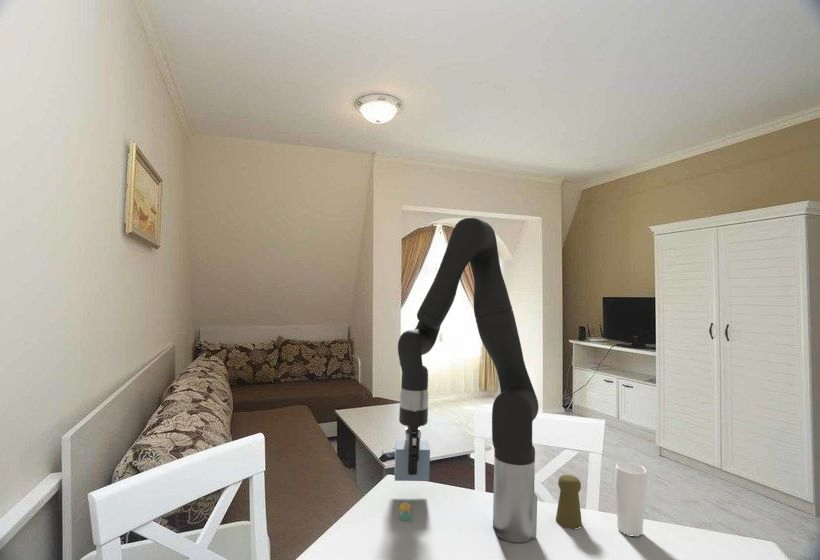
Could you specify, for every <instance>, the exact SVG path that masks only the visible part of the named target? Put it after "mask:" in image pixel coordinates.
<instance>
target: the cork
mask: <svg viewBox="0 0 820 560" xmlns="http://www.w3.org/2000/svg"><path fill="white" fill-rule="evenodd" d="M557 485H558V487H559V491H560V492H559V496H558V497H559V498H558V501H557V502H558V504H557V510H556V516H555V521H556V524H557V525H559V526H560V527H563V528H565V529H568V528H570V529H569V530H576V529H575V528H579V527H581V526H582V527H583V521H582V513H581V504H580V495H579V493H580V491H581V489H582V483H581V481H580V479H579V478H578V477H576V476H574V475H573V474H563V475H561V476H560V477H559V478H558V481H557ZM582 527H581V528H582ZM579 529H580V528H579Z"/></svg>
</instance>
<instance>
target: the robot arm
mask: <svg viewBox="0 0 820 560" xmlns="http://www.w3.org/2000/svg"><path fill="white" fill-rule="evenodd" d="M498 249H499V248H498V243H497V237H496V233H495V230H494V229H493V227H492V226H491V225H490V223H488V222H486V221H484V220H481V219H479V218H477V217H473V216H469V217H468V216H466V217H464V218H462V219H459V220H458V222H457V223H456V224H455V225H454V227H453V229H452V231H451V234H450V237H449V239H448V243H447V246H446V249H445V250H444V251H445V252H444V254H443V257H442V260H441V262H440V265H439V267H438V270H437V273H436V275H435V277H434V279H433V281H432V283H431V285H430V286H429V290H428V291H427V293H426V295H425V297H424V299H423V301H422V303H421V304H420V306H419V309H418V310H417V313H416V317H417V318H416V319H417V320H418V321H417V324H416V326H415V328H413V329H409V330H408V329H407V330H406V331H404V332H402V334H401V335H400V336H399V339H398V341H397V342H398V343H397V353H398V358H399V359H398V360H399V365H400V369H401V382H400V383H401V385H400V386H401V387H400V393H399V394H400V395H399V413H398V415H399V417H398V420H399V423H400V424H401V425H403V426H405V433H404V435H405V440H406V442H407V446H406V449H407V450H408V460H409V462H408V474H409V475H416V474H417V461H418V460H419V449H420V441H421V438H422V432H421V428H420V427H423V426H425V425H427V423H428V420H429V390H428V389H429V388H428V386H429V371H428V368H427V366H426V365H423V358H422V357H423V356H424V355H426V354H428V353H429V352H430V351H431V350H432V349H433V347H434V345H435V344H436V341H437V340H438V337H439V336H438V335H439V333H440V330H441V326H442V325H443V324H442V323H443V322H444V320H445V318H446V317H447V315H448V313H449V312H450V309H451V308H452V306H453V303H454V300H455V298H456V294H457V292H458V287H459V283H460V280H461V277H462V276H463V273H464V271H465V269H466V267H467V266H468V264H470V267H471V271H472V275H473V280H474V281H473V284H474V285H473V312H474V313H473V314H474V317H475V319H474V320H475V323H476V326H477V331H478V334H479V337H480V340H481V342H482V344H483V346H484V348H485V350H486V351H487V354H488V355H489V357H490V358H491V361H492V362H493V365H494V367H495V370H496V374H497V378H498V383H499V389H500V393H499V394H498V395H497V396H496V397H495V399H494V401H493V404H492V409H491V441H492V442H491V443H492V446H493V450H494V451H493V452H494V458H493V460H494V461H493V462H494V463H493V466H494V467H493V501H492V502H493V503H492V508H493V509H492V530H493V532H494V534H495V535H496V536H497V537H498V538H500V539H501V540H504V541H506V542H511V543H525V542H528V541H530V540H532V539H537V529H538V528H537V525H538V524H537V523H538V521H537V520H538V496H537V494H536V492H535V480H536V479H535V477H536V476H535V475H536V473H535V471H536V449H535V446H534V444H533V421H534V420H535V419H536V418H537V415H538V413H539V401H538V398H537V394H536V391H535V389H534V386H533V383H532V381H531V378H530V375H529V373H528V371H527V367H526V363H525V359H524V354H523V349H522V344H521V340H520V335H519V331H518V326H517V321H516V317H515V314H514V310H513V306H512V304H511V299H510V297H509V292H508V289H507V286H506V282H505V279H504V277H503V273H502V269H501V264H500V263H501V262H500V258H499V251H498ZM411 452H416V455H411Z"/></svg>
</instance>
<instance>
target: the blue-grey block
mask: <svg viewBox="0 0 820 560" xmlns="http://www.w3.org/2000/svg"><path fill="white" fill-rule="evenodd" d="M394 443H395V445H394V447H395V448H394V449H395V450H394V481H396V482H429V481H430V467H431V464H430V463H431V462H430V461H431V447H430V444H429V441H428V440H420V449H419V460H418V461H417V474H416V475H409V474H408V462H409V460H408V450H407V449H406V446H407V442H406V439H405V440H404V439H402V440H401V439H397V440H396V439H395V442H394ZM411 455H416V452H411Z"/></svg>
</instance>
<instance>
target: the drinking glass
mask: <svg viewBox="0 0 820 560" xmlns="http://www.w3.org/2000/svg"><path fill="white" fill-rule="evenodd" d="M614 490H615V501H616V502H615V503H616V518H617V521H616V522H617V525H616V526H617V530H618V531H619V530H620V531H619V532H620V533H622V532H623V533H625V534H628V535H633V536H638V535H641V534H642V535H643V531H644V517H645V510H646V509H645V508H646V500H647V499H646V498H647V492H648V470H647V469H646V468H645V467H643V466H642V465H639V464H636V463H634V462H633V463H632V462H624V461H623V462H622V461H621V462H617V463H616V464H615V469H614ZM623 533H622V534H623ZM625 534H624V535H625ZM628 535H627V536H628ZM642 535H641V536H642Z"/></svg>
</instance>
